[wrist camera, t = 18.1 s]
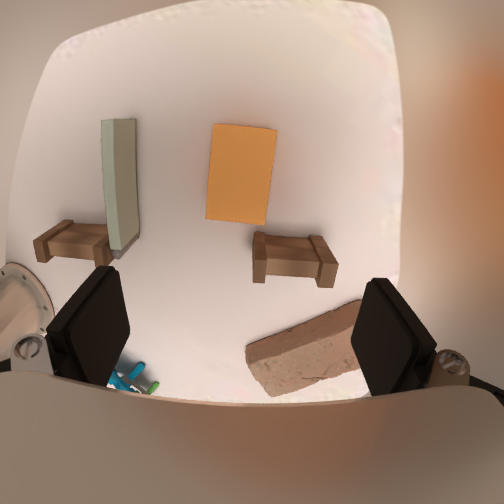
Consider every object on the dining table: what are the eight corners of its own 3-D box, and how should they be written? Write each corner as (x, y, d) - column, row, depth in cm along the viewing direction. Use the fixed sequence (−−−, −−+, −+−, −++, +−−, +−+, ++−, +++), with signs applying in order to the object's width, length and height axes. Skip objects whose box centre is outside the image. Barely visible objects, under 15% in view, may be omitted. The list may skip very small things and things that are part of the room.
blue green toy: (86, 357, 36) (105, 390, 29) (111, 331, 39) (134, 359, 32) (131, 394, 42) (157, 426, 34) (152, 371, 44) (182, 400, 37)
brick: (268, 378, 40) (270, 403, 35) (242, 343, 36) (241, 369, 32) (374, 336, 37) (385, 359, 32) (361, 293, 34) (374, 316, 29)
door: (140, 239, 29) (122, 259, 25) (121, 238, 29) (101, 258, 25) (135, 118, 24) (113, 118, 20) (114, 121, 24) (90, 122, 20)
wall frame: (66, 238, 30) (37, 261, 24) (64, 219, 29) (32, 240, 23) (318, 256, 31) (332, 288, 25) (321, 236, 30) (338, 264, 24)
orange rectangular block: (212, 203, 29) (205, 218, 24) (220, 124, 25) (213, 123, 21) (262, 208, 29) (264, 225, 24) (272, 129, 26) (277, 130, 21)
